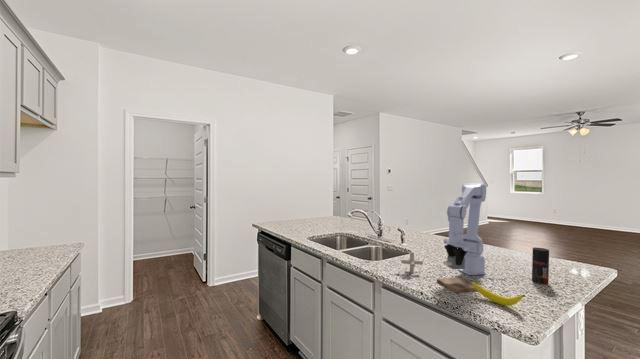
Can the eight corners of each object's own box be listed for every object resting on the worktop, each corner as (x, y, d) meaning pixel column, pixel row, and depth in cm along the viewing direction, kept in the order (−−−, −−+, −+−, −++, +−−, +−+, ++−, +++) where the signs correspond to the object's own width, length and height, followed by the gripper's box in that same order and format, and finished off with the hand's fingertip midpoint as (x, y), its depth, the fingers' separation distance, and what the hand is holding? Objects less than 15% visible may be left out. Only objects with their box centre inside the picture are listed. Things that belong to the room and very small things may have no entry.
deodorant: (541, 285, 125) (542, 251, 125) (528, 280, 131) (529, 247, 131) (551, 284, 127) (552, 250, 127) (538, 279, 133) (539, 247, 132)
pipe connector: (424, 276, 134) (424, 255, 134) (401, 275, 136) (402, 254, 136) (420, 270, 144) (421, 250, 143) (400, 268, 146) (400, 249, 145)
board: (460, 279, 131) (460, 277, 131) (480, 290, 119) (480, 287, 119) (437, 281, 128) (437, 279, 128) (454, 292, 116) (455, 289, 116)
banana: (472, 292, 116) (473, 277, 116) (526, 312, 100) (526, 294, 100) (468, 294, 115) (469, 278, 115) (522, 314, 99) (522, 296, 99)
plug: (460, 265, 129) (461, 255, 129) (467, 268, 125) (467, 258, 125) (442, 266, 127) (442, 256, 127) (447, 269, 123) (448, 259, 123)
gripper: (437, 229, 132) (437, 258, 132) (459, 236, 118) (458, 269, 118) (451, 229, 133) (450, 258, 134) (474, 235, 119) (473, 268, 119)
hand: (455, 263), depth 126 cm, fingers closed on plug, 4 cm apart
